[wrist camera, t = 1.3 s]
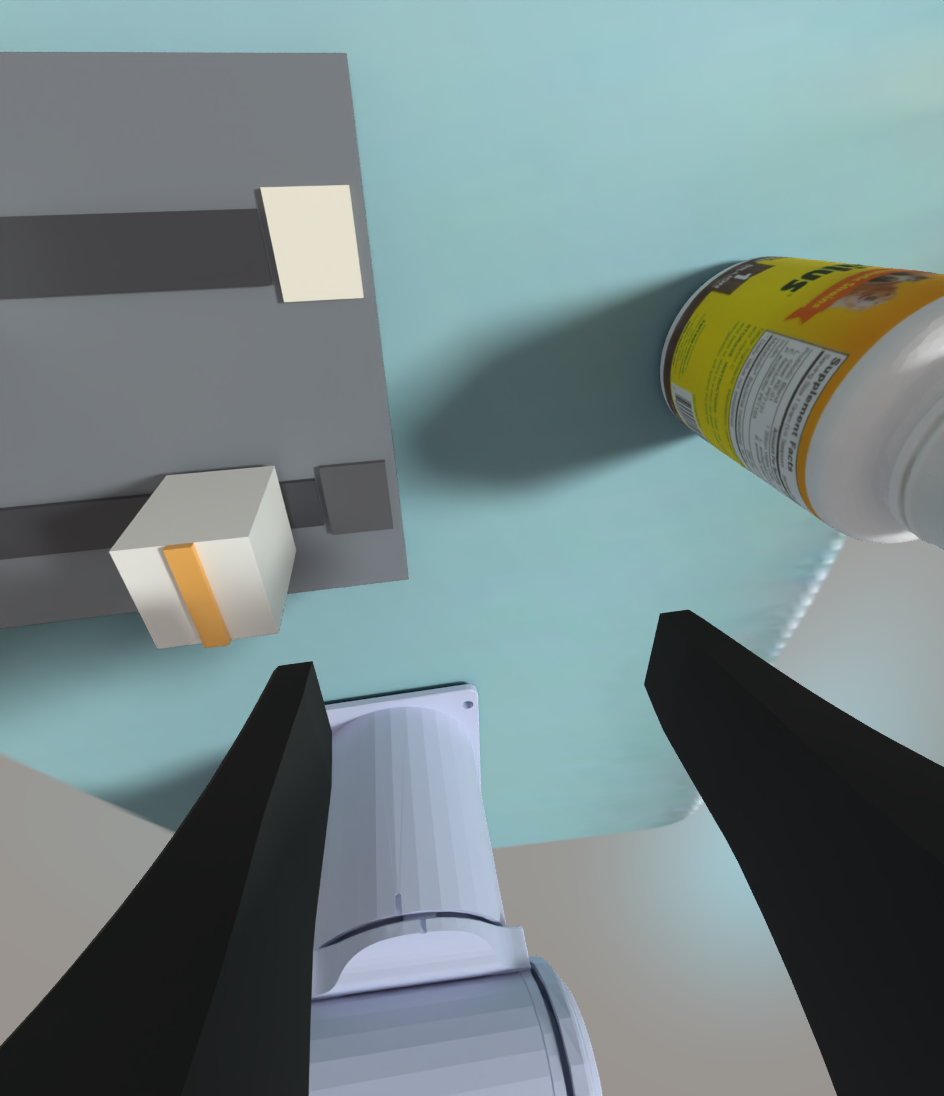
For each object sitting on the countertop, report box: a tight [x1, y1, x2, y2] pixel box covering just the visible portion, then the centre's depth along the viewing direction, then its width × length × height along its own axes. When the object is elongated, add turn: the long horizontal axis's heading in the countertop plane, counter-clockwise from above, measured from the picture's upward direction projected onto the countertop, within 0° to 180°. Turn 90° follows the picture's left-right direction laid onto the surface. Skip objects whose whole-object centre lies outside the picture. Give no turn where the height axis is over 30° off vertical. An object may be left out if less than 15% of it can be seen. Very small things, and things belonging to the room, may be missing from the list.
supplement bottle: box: [660, 256, 944, 550], centre depth 13 cm, size 6×6×10 cm
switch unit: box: [0, 52, 409, 629], centre depth 14 cm, size 14×17×1 cm
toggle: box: [109, 466, 296, 649], centre depth 14 cm, size 3×3×4 cm
